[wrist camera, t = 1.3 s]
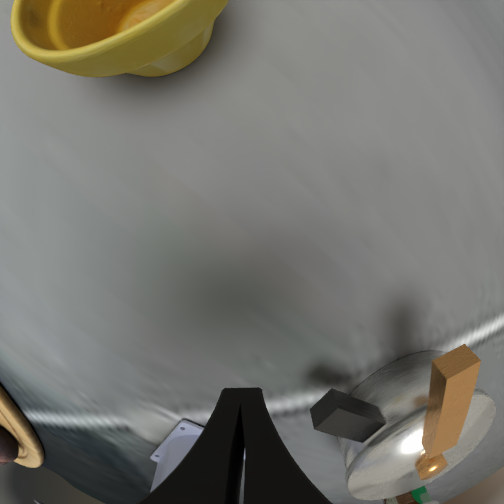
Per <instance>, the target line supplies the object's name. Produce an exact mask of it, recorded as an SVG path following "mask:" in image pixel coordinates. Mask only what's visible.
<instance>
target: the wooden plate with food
mask: <svg viewBox="0 0 504 504" xmlns="http://www.w3.org/2000/svg"><path fill="white" fill-rule="evenodd" d="M10 461H15V462H17V463H19V464H21V465H24V466H27V467H33V468H34V467H39V466H41V465H42V464H43V461H44V451H43V448H42V445H41V443H40V441H39V439H38V437H37V435H36V434H35V432H34V431H33V429H32V427H31V426H30V424H29V423H28V421H27V420H26V419H25V417H24V416H23V414H22V413H21V412H20V410H19V409H18V408H17V407H16V405H15V404H14V403H13V401H12V400H11V399H10V397H9V396H8V395H7V393H6V392H5V391H4V390H3V388H2V387H1V386H0V465H4V464H6V463H8V462H10Z"/></svg>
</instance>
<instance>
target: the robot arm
mask: <svg viewBox="0 0 504 504" xmlns="http://www.w3.org/2000/svg"><path fill="white" fill-rule="evenodd" d="M150 458H151V460H153V461H155V462H158V464H157V468H156V472H155V476H154V480H153V484H152V487H151V491H150V493H149V494H148V495H147V496H146V497H144V498H143V499H142V500H141V501H139V502H138V503H137V504H239V496H240V487H241V478H242V470H243V461H244V459H245V482H244V504H332V503H331V502H330V501H329V500H328V499H327V498H326V497H325V496H324V495H323V494H322V493H321V492H320V491H319V490H318V489H317V488H316V487H315V486H314V484H313V483H312V482H311V481H310V480H309V479H308V477H307V476H306V475H305V474H304V473H303V471H302V470H301V469H300V467H299V466H298V465H297V463H296V462H295V461H294V459H293V458H292V456H291V455H290V453H289V452H288V450H287V448H286V447H285V445H284V443H283V442H282V440H281V438H280V436H279V434H278V432H277V430H276V428H275V426H274V424H273V422H272V420H271V418H270V415H269V413H268V410H267V408H266V405H265V402H264V398H263V393H262V389H260V388H259V387H258V388H224V389H223V390H222V392H221V395H220V397H219V400H218V402H217V405H216V407H215V409H214V411H213V413H212V415H211V417H210V419H209V420H208V422H207V424H206V426H205V428H203V427H201V426H198V425H196V424H193V423H191V422H189V421H186V420H182V421H181V422H180V423H179V424H178V425H177V426H176V427H175V429H174V430H173V431H172V432H171V433H170V434H169V435H168V437H167V438H166V439H165V440H164V441H163V442H162V443H161V445H160V446H159V447H158V448H157V449H156V450H155V451H154V452H153V454H152V455H151V457H150Z"/></svg>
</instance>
